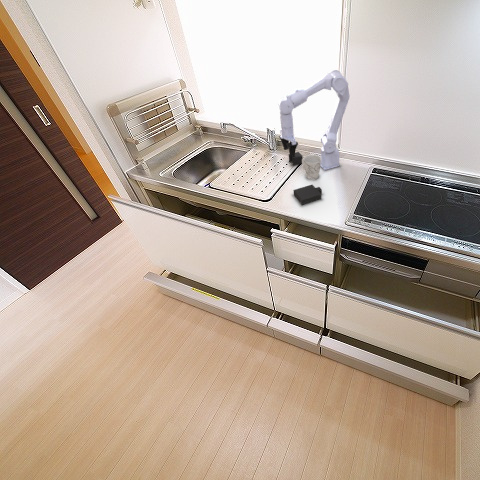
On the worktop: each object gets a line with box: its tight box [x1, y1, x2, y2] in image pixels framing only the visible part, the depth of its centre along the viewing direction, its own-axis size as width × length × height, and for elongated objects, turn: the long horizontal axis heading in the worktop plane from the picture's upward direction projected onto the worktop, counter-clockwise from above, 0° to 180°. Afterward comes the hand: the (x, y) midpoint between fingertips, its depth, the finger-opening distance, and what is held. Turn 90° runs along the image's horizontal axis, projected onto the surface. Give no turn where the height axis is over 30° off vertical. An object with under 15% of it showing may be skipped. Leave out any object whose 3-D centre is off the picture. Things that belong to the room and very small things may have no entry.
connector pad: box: [288, 151, 304, 167], centre depth 143 cm, size 6×5×4 cm
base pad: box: [293, 184, 323, 206], centre depth 121 cm, size 12×9×3 cm
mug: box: [301, 154, 321, 181], centre depth 132 cm, size 11×8×10 cm
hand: (289, 152), depth 134 cm, fingers open, 7 cm apart
